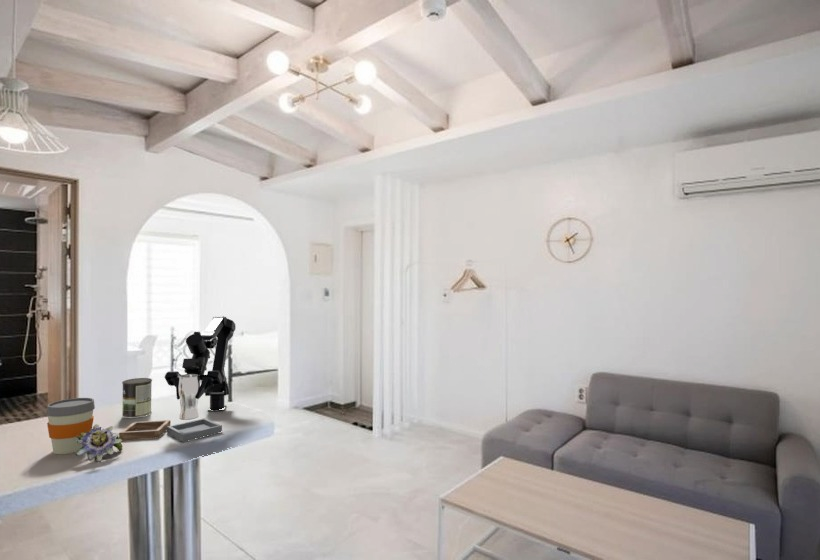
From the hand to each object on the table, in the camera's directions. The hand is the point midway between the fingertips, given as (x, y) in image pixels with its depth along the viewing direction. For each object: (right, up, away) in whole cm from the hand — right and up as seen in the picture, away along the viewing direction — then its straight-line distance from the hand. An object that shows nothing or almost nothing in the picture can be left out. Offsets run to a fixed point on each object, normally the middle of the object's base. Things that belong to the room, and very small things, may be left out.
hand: (187, 398), depth 160 cm
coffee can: (-32, -13, +23) cm, 42 cm away
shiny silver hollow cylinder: (0, -7, +1) cm, 7 cm away
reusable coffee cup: (-31, -13, -14) cm, 36 cm away
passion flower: (-17, -13, -20) cm, 30 cm away
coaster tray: (+2, -13, +2) cm, 13 cm away
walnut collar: (-16, -13, +1) cm, 20 cm away
